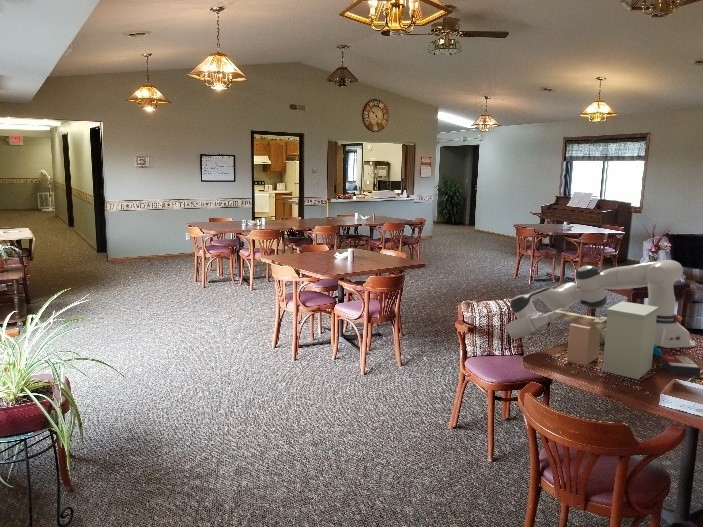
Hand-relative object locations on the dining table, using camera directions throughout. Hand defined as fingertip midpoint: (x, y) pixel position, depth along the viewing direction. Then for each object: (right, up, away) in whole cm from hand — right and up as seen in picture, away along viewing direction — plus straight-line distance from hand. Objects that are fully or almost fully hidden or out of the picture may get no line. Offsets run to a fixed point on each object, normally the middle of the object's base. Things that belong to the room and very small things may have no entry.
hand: (564, 311), depth 237 cm
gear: (+37, -20, +1) cm, 42 cm away
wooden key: (+5, -4, -4) cm, 7 cm away
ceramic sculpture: (+29, -17, +17) cm, 38 cm away
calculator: (+41, -23, -14) cm, 49 cm away
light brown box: (+7, -20, -3) cm, 22 cm away
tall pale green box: (+20, -22, -15) cm, 34 cm away
